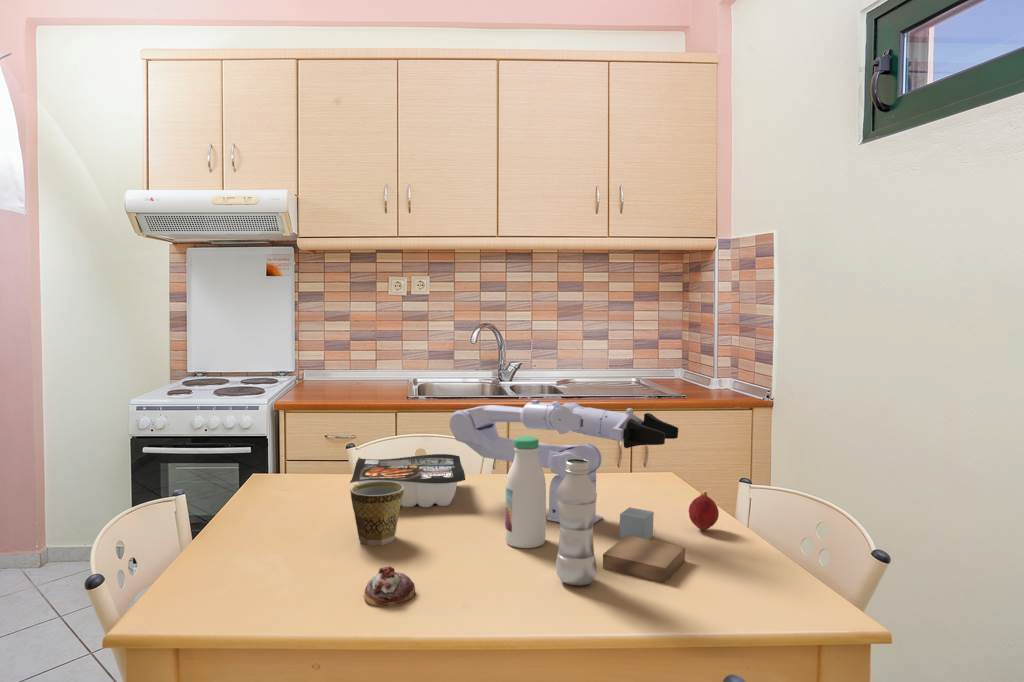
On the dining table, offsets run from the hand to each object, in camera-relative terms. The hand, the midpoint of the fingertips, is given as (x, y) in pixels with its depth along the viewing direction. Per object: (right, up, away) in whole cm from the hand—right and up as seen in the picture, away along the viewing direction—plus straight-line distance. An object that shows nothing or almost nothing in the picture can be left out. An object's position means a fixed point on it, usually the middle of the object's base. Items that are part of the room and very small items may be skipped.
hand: (671, 435), depth 125 cm
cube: (-6, -20, +2) cm, 21 cm away
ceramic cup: (-58, -20, 0) cm, 61 cm away
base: (-8, -21, -12) cm, 25 cm away
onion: (+8, -20, +6) cm, 23 cm away
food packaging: (-55, -19, +28) cm, 64 cm away
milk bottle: (-28, -20, -1) cm, 35 cm away
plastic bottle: (-20, -21, -19) cm, 35 cm away
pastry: (-50, -22, -24) cm, 59 cm away
